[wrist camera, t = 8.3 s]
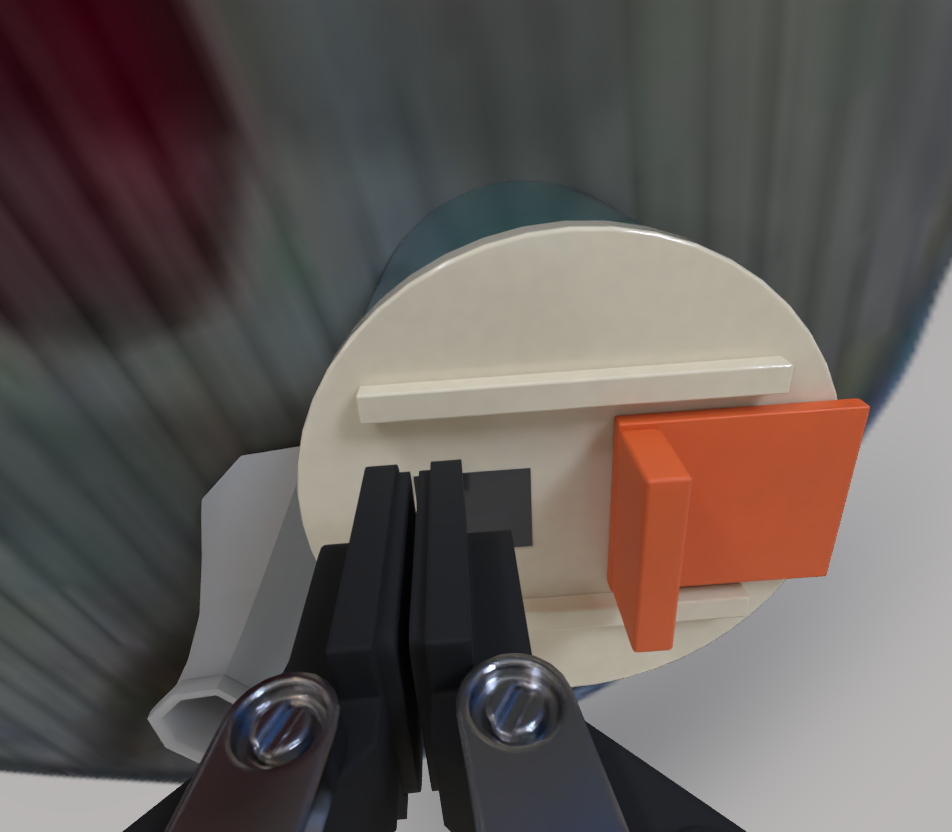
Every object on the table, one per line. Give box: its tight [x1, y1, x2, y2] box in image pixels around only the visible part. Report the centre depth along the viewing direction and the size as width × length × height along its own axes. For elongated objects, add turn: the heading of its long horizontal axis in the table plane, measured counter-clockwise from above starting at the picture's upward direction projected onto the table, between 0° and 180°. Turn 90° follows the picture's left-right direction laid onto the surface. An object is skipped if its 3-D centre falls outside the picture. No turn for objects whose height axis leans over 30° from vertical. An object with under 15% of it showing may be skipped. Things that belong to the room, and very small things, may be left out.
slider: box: [607, 398, 870, 653], centre depth 11 cm, size 5×4×2 cm
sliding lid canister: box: [297, 181, 837, 687], centre depth 17 cm, size 11×11×11 cm
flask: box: [148, 446, 317, 763], centre depth 21 cm, size 7×7×10 cm
